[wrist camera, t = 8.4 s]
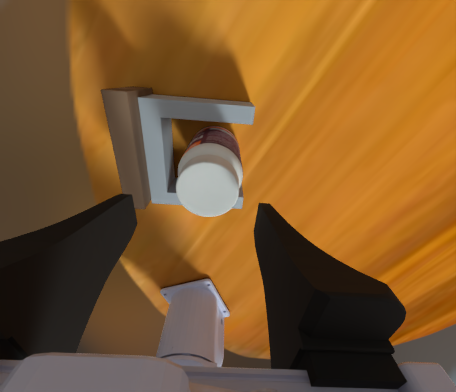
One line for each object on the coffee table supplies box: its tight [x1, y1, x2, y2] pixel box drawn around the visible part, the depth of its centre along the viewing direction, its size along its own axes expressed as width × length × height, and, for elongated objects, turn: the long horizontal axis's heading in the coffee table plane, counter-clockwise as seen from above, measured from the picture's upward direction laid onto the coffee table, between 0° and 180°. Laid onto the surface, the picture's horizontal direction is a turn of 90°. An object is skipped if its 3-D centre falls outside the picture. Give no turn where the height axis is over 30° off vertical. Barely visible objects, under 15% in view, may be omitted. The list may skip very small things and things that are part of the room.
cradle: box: [138, 94, 255, 209], centre depth 18 cm, size 8×9×3 cm
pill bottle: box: [176, 126, 243, 217], centre depth 16 cm, size 5×5×8 cm
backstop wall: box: [101, 87, 152, 209], centre depth 17 cm, size 2×9×5 cm, turn 176°
